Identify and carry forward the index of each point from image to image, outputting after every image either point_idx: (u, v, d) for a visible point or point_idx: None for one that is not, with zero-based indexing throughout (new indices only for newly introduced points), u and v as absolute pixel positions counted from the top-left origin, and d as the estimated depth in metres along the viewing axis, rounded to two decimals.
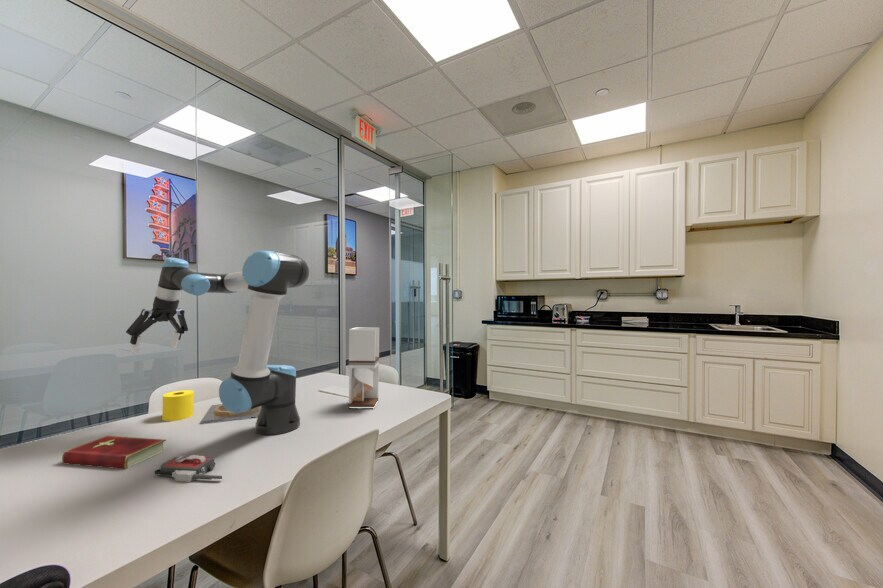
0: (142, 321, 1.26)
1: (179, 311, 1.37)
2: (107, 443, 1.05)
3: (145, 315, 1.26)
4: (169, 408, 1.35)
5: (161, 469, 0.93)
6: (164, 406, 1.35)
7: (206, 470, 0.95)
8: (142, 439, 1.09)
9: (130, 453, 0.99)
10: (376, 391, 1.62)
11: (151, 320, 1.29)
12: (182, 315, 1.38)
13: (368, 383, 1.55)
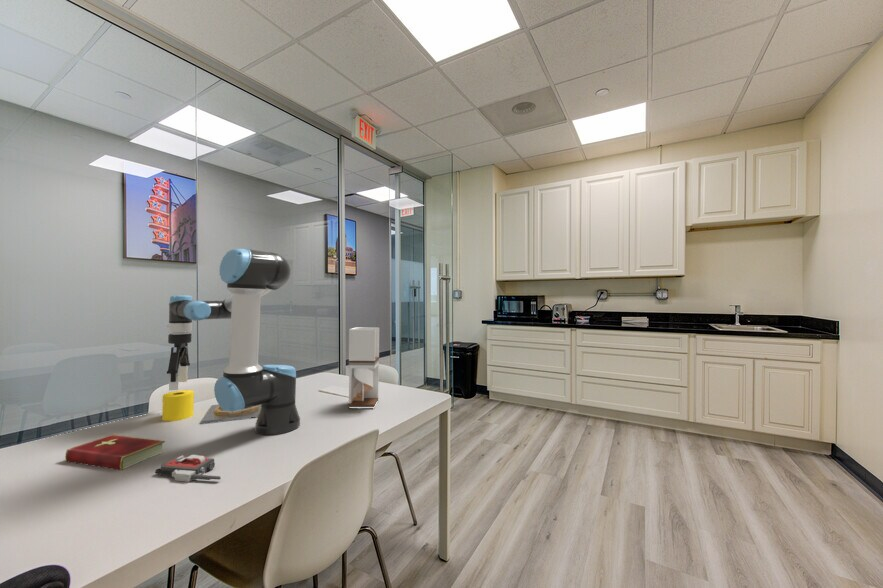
0: (178, 357, 1.34)
1: (184, 344, 1.45)
2: (109, 442, 1.05)
3: (178, 351, 1.35)
4: (169, 408, 1.35)
5: (161, 468, 0.94)
6: (164, 406, 1.35)
7: (205, 470, 0.95)
8: (143, 439, 1.08)
9: (126, 454, 0.98)
10: (376, 391, 1.62)
11: (178, 356, 1.37)
12: (187, 348, 1.47)
13: (368, 383, 1.55)
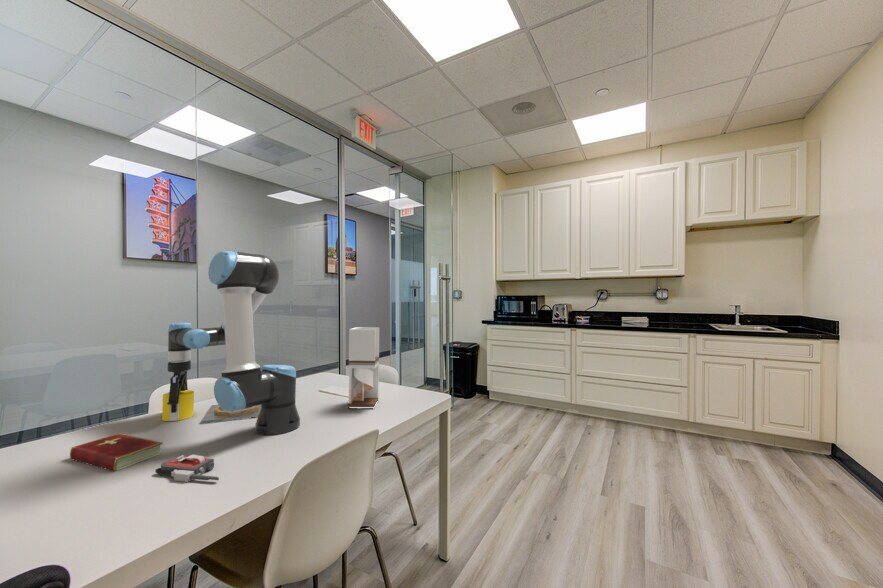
0: (178, 387, 1.34)
1: None
2: (111, 442, 1.06)
3: (178, 381, 1.35)
4: (169, 408, 1.35)
5: (161, 468, 0.94)
6: (164, 406, 1.35)
7: (205, 470, 0.95)
8: (143, 440, 1.08)
9: (121, 455, 0.97)
10: (376, 391, 1.62)
11: (178, 385, 1.37)
12: (186, 376, 1.46)
13: (368, 383, 1.55)
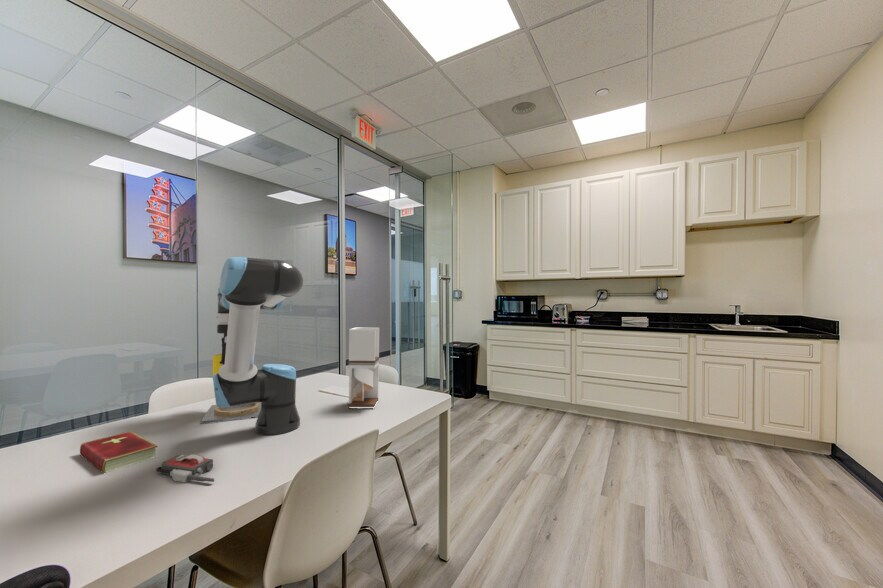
0: None
1: None
2: (115, 440, 1.07)
3: None
4: None
5: (162, 467, 0.94)
6: (215, 366, 1.40)
7: (203, 471, 0.95)
8: (143, 441, 1.07)
9: (112, 457, 0.96)
10: (376, 391, 1.62)
11: None
12: None
13: (368, 383, 1.55)
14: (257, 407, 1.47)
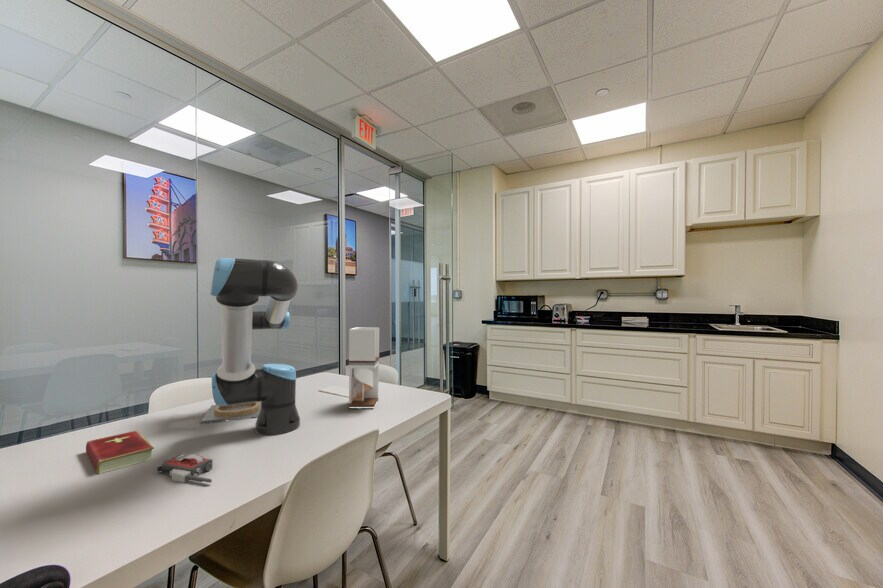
0: None
1: None
2: (118, 440, 1.07)
3: None
4: None
5: (162, 466, 0.95)
6: None
7: (202, 471, 0.95)
8: (143, 442, 1.07)
9: (107, 458, 0.96)
10: (376, 391, 1.62)
11: None
12: None
13: (368, 383, 1.55)
14: (257, 407, 1.47)
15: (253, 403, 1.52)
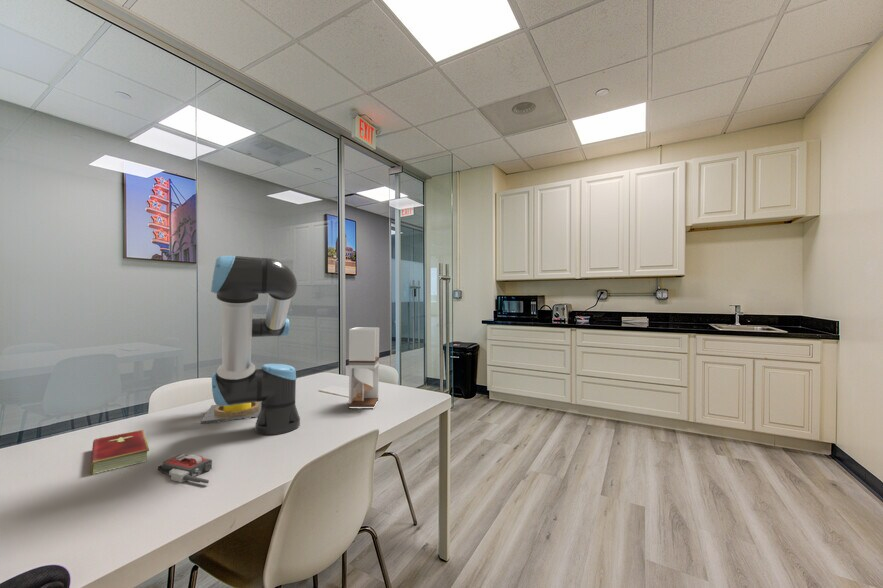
0: None
1: None
2: (120, 439, 1.07)
3: None
4: None
5: (162, 466, 0.95)
6: None
7: (201, 471, 0.95)
8: (142, 443, 1.06)
9: (101, 458, 0.95)
10: (376, 391, 1.62)
11: None
12: None
13: (368, 383, 1.55)
14: (257, 407, 1.47)
15: (253, 403, 1.52)
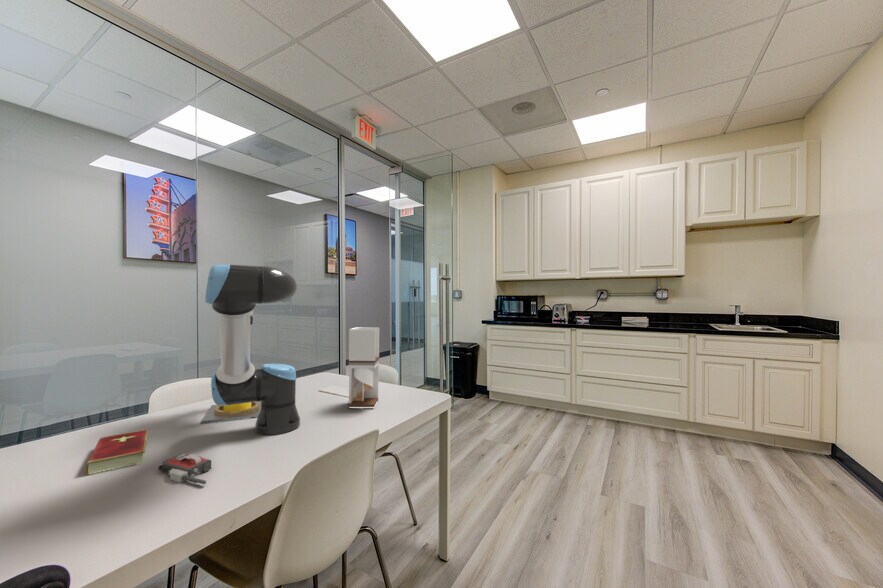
0: None
1: None
2: (123, 439, 1.08)
3: None
4: None
5: (163, 465, 0.95)
6: None
7: (200, 471, 0.95)
8: (141, 443, 1.05)
9: (97, 459, 0.95)
10: (376, 391, 1.62)
11: None
12: None
13: (368, 383, 1.55)
14: (257, 407, 1.47)
15: (253, 403, 1.52)
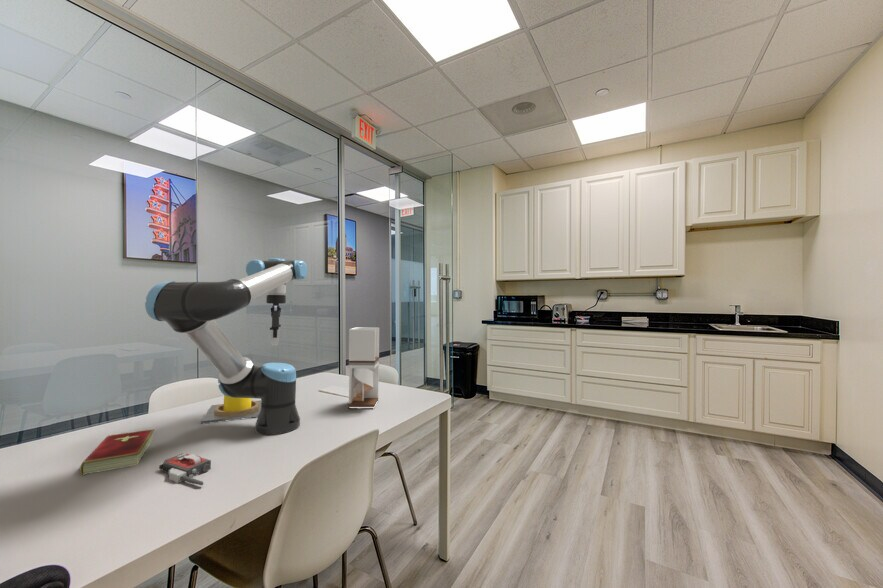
0: (278, 315, 1.43)
1: None
2: (125, 438, 1.08)
3: (278, 309, 1.44)
4: (231, 401, 1.42)
5: (163, 464, 0.96)
6: (226, 399, 1.42)
7: (199, 472, 0.95)
8: (140, 444, 1.05)
9: (92, 459, 0.95)
10: (376, 391, 1.62)
11: None
12: None
13: (368, 383, 1.55)
14: (257, 407, 1.47)
15: (253, 403, 1.52)
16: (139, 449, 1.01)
